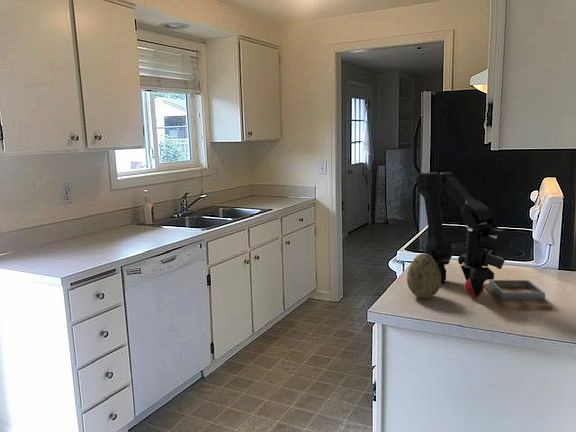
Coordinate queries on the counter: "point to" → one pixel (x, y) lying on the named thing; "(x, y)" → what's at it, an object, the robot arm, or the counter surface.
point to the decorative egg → (424, 276)
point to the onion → (471, 289)
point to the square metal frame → (516, 296)
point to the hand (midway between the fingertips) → (473, 292)
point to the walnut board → (518, 304)
